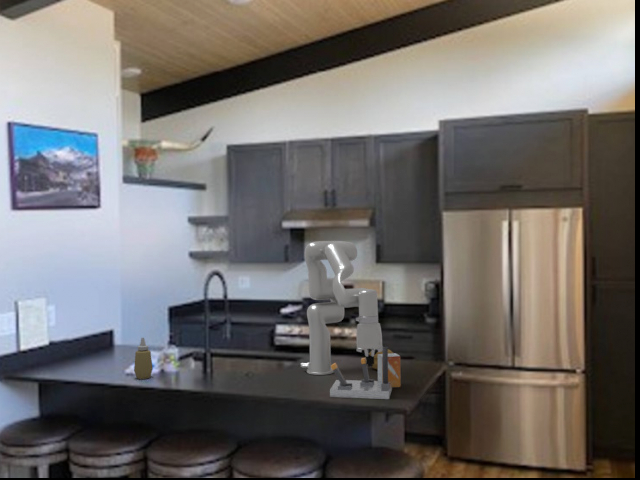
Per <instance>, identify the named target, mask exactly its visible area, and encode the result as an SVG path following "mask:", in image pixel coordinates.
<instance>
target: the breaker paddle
mask: <svg viewBox="0 0 640 480" xmlns="http://www.w3.org/2000/svg"><path fill="white" fill-rule="evenodd" d="M360 363H361V367H362V369H361V370H362V373H363V379H364V380H365V382H369V380H370V375H369V370H368V364H366V357H361V359H360Z"/></svg>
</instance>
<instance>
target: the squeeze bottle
mask: <svg viewBox="0 0 640 480" xmlns="http://www.w3.org/2000/svg"><path fill="white" fill-rule="evenodd" d="M133 368H134V369H133V371H134V375H135V377H136V379H139V380H146V379H149V378H151V376H152V372H153V361H152V353H151V350H149V345H147V344H146V339H145V337H141V338H140V342H139V345H138V346H137V350H136V351H135V356H134V367H133Z"/></svg>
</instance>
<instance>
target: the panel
mask: <svg viewBox="0 0 640 480" xmlns="http://www.w3.org/2000/svg"><path fill="white" fill-rule="evenodd" d="M345 380H346V382H347V384H346V385H344V386H342V385H341V383H340V381H339V380H338V379H336V380H335V381H334V383H333V384H332V386H331V387H330V389H329V397H330V398H344V399H345V398H346V399H371V400H372V399H374V400H375V399H376V400H377V399H378V400H379V399H380V400H390V397H391V393H392V391H393V387H392V381H388V382H390V389H389V390H381V384H382V382H383V381H378V380H375V379H369V382H365V380H364V378H363V379H361V380H356V379H355V380H353V379H352V380H351V379H345Z"/></svg>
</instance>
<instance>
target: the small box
mask: <svg viewBox="0 0 640 480" xmlns="http://www.w3.org/2000/svg"><path fill="white" fill-rule="evenodd" d="M377 381H383V354H378V370H377ZM388 381H392V388H401V387H402V386H401V385H402V384H401V383H402V382H401V355H400V354H398V353H394V352H393V353H392V354H388Z"/></svg>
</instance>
